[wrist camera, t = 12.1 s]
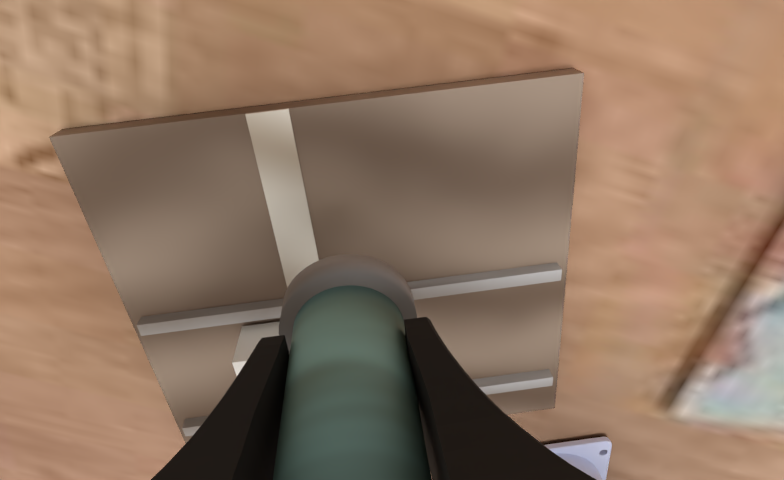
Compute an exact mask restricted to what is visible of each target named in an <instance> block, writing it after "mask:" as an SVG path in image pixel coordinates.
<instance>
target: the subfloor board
mask: <svg viewBox="0 0 784 480" xmlns="http://www.w3.org/2000/svg"><path fill="white" fill-rule="evenodd" d="M583 79H584V73H583V72H581V71H579V70H576V69H574V68H571V69H562V70H554V71H546V72H537V73H529V74H521V75H512V76H504V77H495V78H487V79H479V80H470V81H462V82H454V83H445V84H437V85H429V86H420V87H412V88H403V89H395V90H387V91H378V92H370V93H362V94H353V95H345V96H337V97H328V98H320V99H311V100H303V101H295V102H286V103H278V104H270V105H261V106H253V107H245V108H236V109H228V110H219V111H211V112H203V113H194V114H186V115H178V116H169V117H161V118H153V119H144V120H136V121H127V122H119V123H111V124H102V125H94V126H86V127H77V128H69V129H62V130H60V131H59V132H57V133H55V134H54V135H52V136H50V137H49V138H50V140H51V142H52V145H53V147H54V149H55V151H56V153H57V156H58V158H59V160H60V162H61V165H62V167H63V169H64V171H65V174H66V176H67V178H68V180H69V183H70V185H71V187H72V189H73V192H74V194H75V196H76V198H77V201H78V203H79V205H80V207H81V210H82V212H83V214H84V216H85V219H86V221H87V223H88V225H89V227H90V230H91V232H92V234H93V236H94V239H95V241H96V243H97V245H98V248H99V250H100V252H101V254H102V257H103V259H104V261H105V263H106V266H107V268H108V270H109V272H110V275H111V277H112V279H113V281H114V284H115V286H116V288H117V290H118V293H119V295H120V297H121V299H122V301H123V304H124V306H125V308H126V310H127V313H128V315H129V317H130V319H131V322H132V324H133V326H134V328H135V331H136V333H137V335H138V337H139V340H140V342H141V344H142V346H143V349H144V351H145V353H146V355H147V358H148V360H149V362H150V364H151V367H152V369H153V371H154V373H155V376H156V378H157V380H158V382H159V384H160V387H161V389H162V391H163V393H164V396H165V398H166V400H167V402H168V405H169V407H170V409H171V411H172V414H173V416H174V418H175V420H176V423H177V425H178V427H179V429H180V432H181V434H182V436H183V438H184V441H185V443H187V442H188V441H189V439H190V438H191V437H192V436H193V435H194V434H195V432H196V431H197V430H198V429H199V427H200V426H201V425H202V424H203V422H204V421H205V420H206V418H207V417H208V416H209V415H210V413H211V412H212V411H213V409H214V408H215V407H216V405H217V404H218V403H219V401H220V400H221V399H222V397H223V396H224V394H225V393H226V391H227V390H228V389H229V387H230V386H231V384H232V383H233V381H234V380H235V378H236V377H237V376H236V373H235V370H234V367H233V364H232V361H233V357H234V354H235V350H236V347H237V343H238V339H239V336H240V332H241V329H242V326H248V325H256V324H264V323H271V322H279V321H280V316H281V310H282V304H283V299H284V295H285V292H286V290H287V288H288V286H289V284H290V283H291V282H292V280H293V279H294V278H295V277H296V276H297V275H298V273H299V272H301V271H302V270H303V269H304V268H306V267H307V266H309V265H311V264H312V263H314V262H316V261H319V260H321V259H324V258H327V257H330V256H336V255H343V254H357V255H364V256H369V257H372V258H376V259H378V260H380V261H383V262H385V263H387V264H388V265H390V266H391V267H393V268H394V269H395V270H397V271H398V272H399V273H400V274H401V275H402V276H403V278H404V279H405V280H406V282H407V283H408V285H409V287H410V289H411V292H412V295H413V299H414V304H415V308H416V313H417V318H420V317H427V318H429V319H430V320H431V322H432V324H433V326H434V328H435V330H436V331H437V333H438V335H439V336H440V338H441V339H442V341H443V342H444V344H445V345H446V347H447V348H448V350H449V351H450V352H451V354H452V355H453V356H454V358H455V359H456V360H457V362H458V363H459V364H460V365H461V367H462V368H463V369H464V371H465V372H466V373H467V374H468V375H469V377H470V378H471V379H472V380H473V381H474V382H475V383H476V384H477V386H478V387H479V388H480V389H481V390H482V391H483V392H484V393H485V394H486V395H487V396H488V397H489V398H490V399H491V400H492V401H493V402H494V403H495V404H496V405H497V406H498V407H499V408H500V409H501V410H502V411H503V412H504V413H505V414H506V415H508V414H515V413H522V412H529V411H536V410H544V409H551V408H555V399H556V387H557V376H558V365H559V353H560V342H561V330H562V319H563V308H564V296H565V285H566V273H567V262H568V251H569V239H570V228H571V216H572V205H573V193H574V182H575V171H576V159H577V148H578V136H579V125H580V114H581V102H582V91H583Z"/></svg>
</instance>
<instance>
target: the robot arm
mask: <svg viewBox="0 0 784 480" xmlns="http://www.w3.org/2000/svg"><path fill="white" fill-rule="evenodd" d="M404 326H405V336H406V342H407V347H408V353H409V359H410V364H411V368H412V372H413V377H414V382H415V387H416V393H417V399H418V404H419V410H420V416H421V421H422V427H423V433H424V439H425V444H426V450H427V456H428V461H429V467H430V471H431V475H432V479H433V480H606V476H607V471H608V465H609V459H610V454H611V448H612V443H611V441H610V439H609V438H608V437H596V438H589V439H582V440H575V441H568V442H561V443H554V444H547V445H543V444H542V443H540V442H539V441H538V440H536V439H535V438H534V437H533V436H531V435H530V434H529V433H527V432H526V431H525V430H524V429H522V428H521V427H520V426H519V425H518V424H516V423H515V422H514V421H513V420H512V419H511V418H510V417H508V416H507V415H506V414H505V413H504V412H503V411H502V410H501V409H500V408H499V407H498V406H497V405H496V404H495V403H494V402H493V401H492V400H491V399H490V398H489V397H488V396H487V395H486V394H485V393H484V392H483V391H482V390H481V389H480V388H479V387H478V386H477V384H476V383H475V382H474V381H473V380H472V379H471V378H470V377H469V375H468V374H467V373H466V372H465V371H464V369H463V368H462V367H461V365H460V364H459V363H458V362H457V360H456V359H455V358H454V356H453V355H452V354H451V352H450V351H449V350H448V348H447V347H446V345H445V344H444V342H443V341H442V339H441V338H440V336H439V335H438V333H437V331H436V330H435V328H434V326H433V324H432V322H431V320H430V319H429V318H427V317H420V318H413V319H405V320H404ZM288 362H289V350H288V346H287V343H286V339H285V335H280V336H272V337H264V338H261V340H260V341H259V342H258V344H257V345H256V347H255V348H254V350H253V352H252V353H251V355H250V357H249V358H248V360H247V361H246V363H245V365H244V366H243V368H242V369H241V371H240V372H239V374H238V375H237V377H236V378H235V380H234V381H233V383H232V384H231V386H230V387H229V389H228V390H227V391H226V393H225V394H224V396H223V397H222V399H221V400H220V401H219V403H218V404H217V405H216V407H215V408H214V409H213V411H212V412H211V413H210V415H209V416H208V417H207V418H206V420H205V421H204V422H203V424H202V425H201V426H200V427H199V429H198V430H197V431H196V432H195V434H194V435H193V436H192V437H191V438H190V439H189V441H188V442H187V443H186V444H185V445H184V446H183V447H182V448H181V450H180V451H179V452H178V453H177V454H176V455H175V456H174V457H173V458H172V459H171V460H170V461H169V462H168V463H167V465H166V466H165V467H164V468H163V469H161V470H160V471H159V472H158V473H157V474H156V475H155V476H154V477H153V478H152V479H151V480H273V474H274V466H275V459H276V451H277V444H278V436H279V429H280V421H281V414H282V407H283V399H284V392H285V384H286V377H287V369H288Z"/></svg>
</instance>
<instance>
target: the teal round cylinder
mask: <svg viewBox="0 0 784 480" xmlns="http://www.w3.org/2000/svg"><path fill="white" fill-rule="evenodd" d="M413 318H417V313H416V308H415V304H414V299H413V295H412V292H411V289H410V287H409V285H408V283H407V282H406V280H405V279H404V278H403V276H402V275H401V274H400V273H399V272H398V271H397V270H395V269H394V268H393V267H391V266H390V265H388V264H387V263H385V262H383V261H380V260H378V259H376V258H372V257H369V256H364V255H357V254H343V255H336V256H330V257H327V258H324V259H321V260H319V261H316V262H314V263H312V264H311V265H309V266H307V267H306V268H304V269H303V270H302V271H301V272H299V273H298V275H297V276H296V277H295V278H294V279H293V280H292V282H291V283H290V284H289V286H288V288H287V290H286V292H285V295H284V299H283V304H282V310H281V316H280V322H279V336H280V335H285V339H286V343H287V346H288V350H289V362H288V369H287V377H286V384H285V392H284V399H283V407H282V414H281V421H280V429H279V436H278V444H277V451H276V459H275V466H274V474H273V480H432V479H431V473H430V467H429V461H428V456H427V450H426V444H425V439H424V433H423V427H422V421H421V416H420V410H419V404H418V399H417V393H416V387H415V382H414V377H413V372H412V368H411V364H410V359H409V353H408V347H407V342H406V336H405V326H404V320H405V319H413Z"/></svg>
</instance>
